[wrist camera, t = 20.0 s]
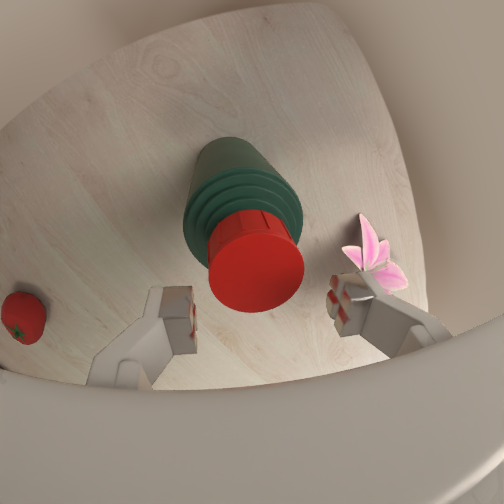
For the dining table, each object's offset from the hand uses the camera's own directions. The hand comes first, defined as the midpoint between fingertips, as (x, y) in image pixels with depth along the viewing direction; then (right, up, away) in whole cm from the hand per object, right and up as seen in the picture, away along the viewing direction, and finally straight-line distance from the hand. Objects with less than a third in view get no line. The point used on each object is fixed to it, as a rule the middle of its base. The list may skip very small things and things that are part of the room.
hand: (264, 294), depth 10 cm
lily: (+14, +2, +24) cm, 28 cm away
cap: (0, +1, +1) cm, 1 cm away
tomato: (-35, -7, +22) cm, 41 cm away
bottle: (-3, +10, +17) cm, 20 cm away
